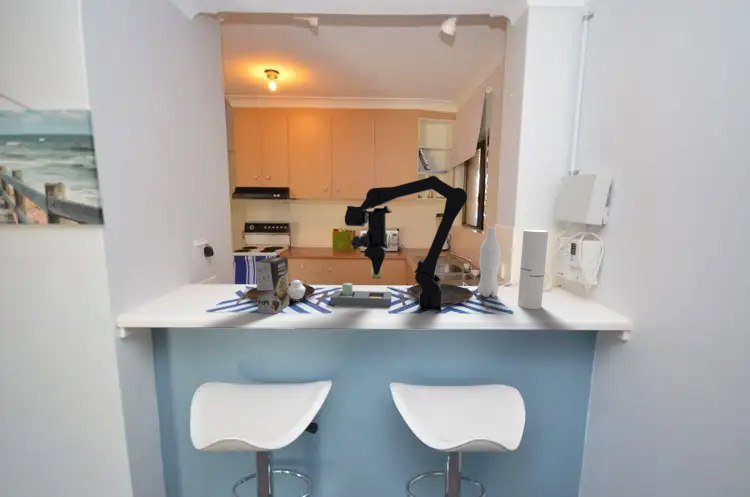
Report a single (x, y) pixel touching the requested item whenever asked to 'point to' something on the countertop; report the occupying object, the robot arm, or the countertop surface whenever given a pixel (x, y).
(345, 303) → the panel
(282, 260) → the coffee box
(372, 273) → the brass plug
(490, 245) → the water bottle
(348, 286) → the sage plug
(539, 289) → the cylindrical container
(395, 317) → the countertop surface
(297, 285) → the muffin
